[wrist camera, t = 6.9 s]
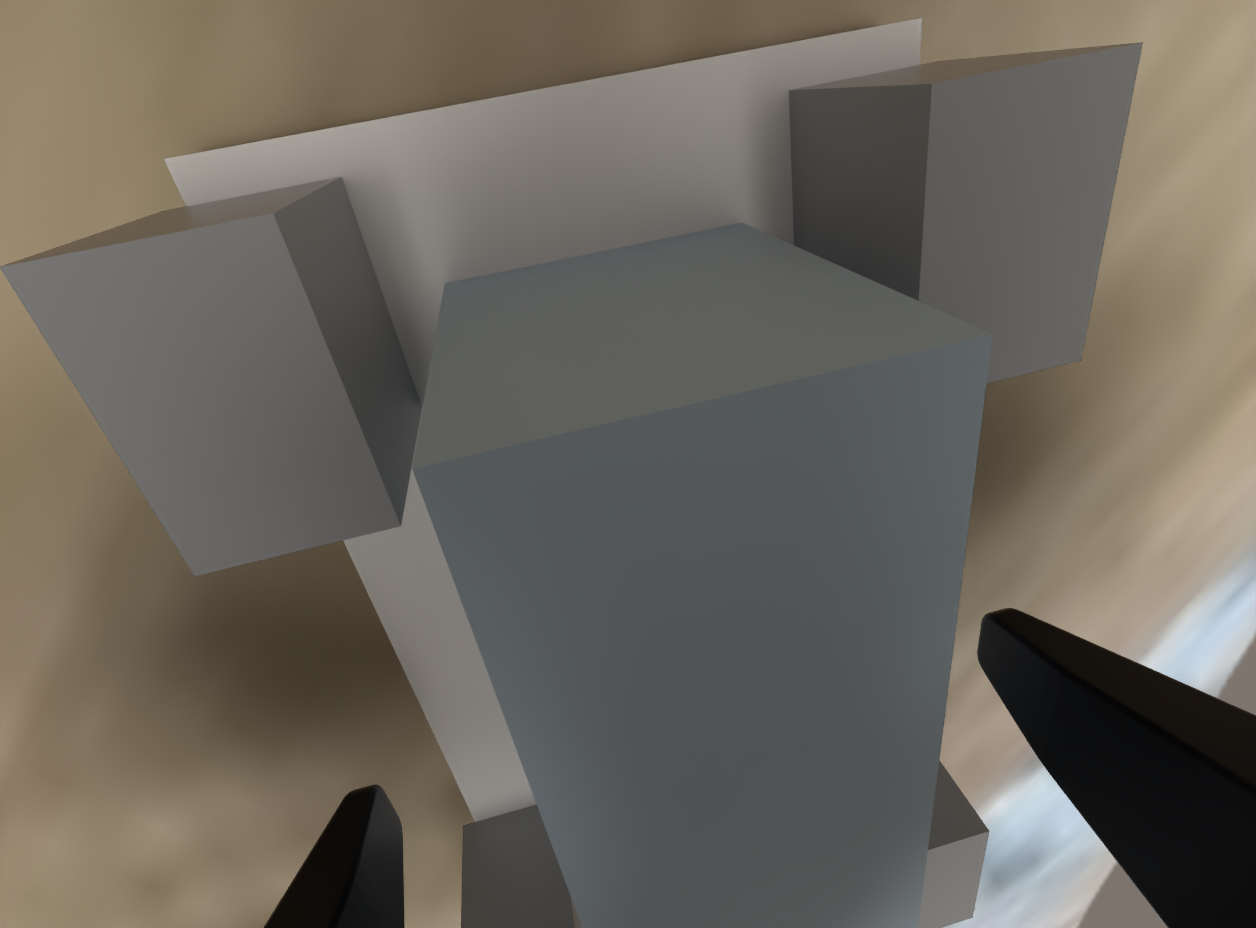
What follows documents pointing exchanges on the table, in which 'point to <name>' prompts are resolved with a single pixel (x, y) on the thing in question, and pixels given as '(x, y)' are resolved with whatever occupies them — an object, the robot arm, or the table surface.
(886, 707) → the grey rectangular block
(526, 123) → the jig
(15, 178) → the table surface
